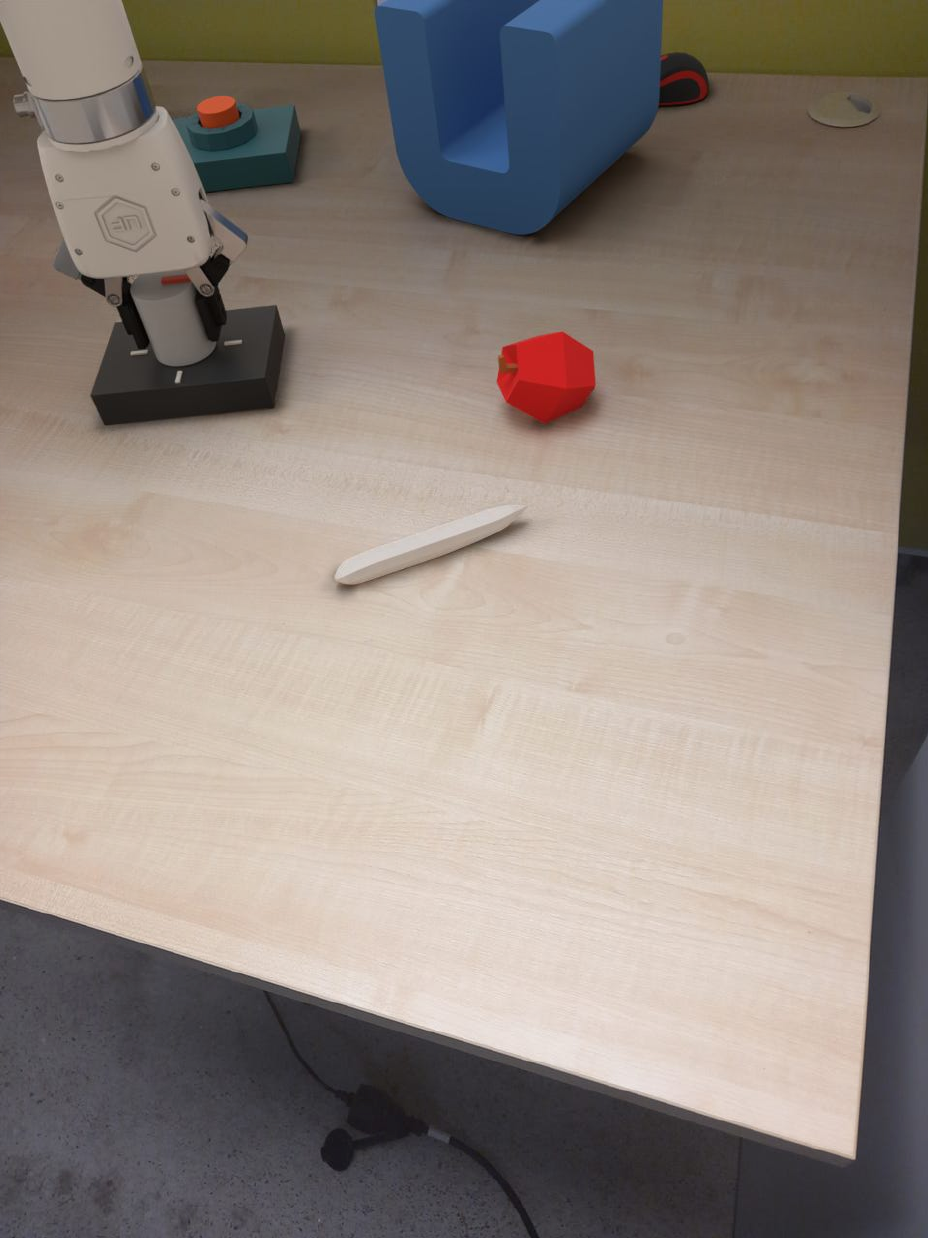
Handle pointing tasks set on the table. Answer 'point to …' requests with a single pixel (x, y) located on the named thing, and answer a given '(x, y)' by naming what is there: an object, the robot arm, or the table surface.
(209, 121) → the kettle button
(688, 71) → the computer mouse
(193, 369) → the dial panel
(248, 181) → the teal button box
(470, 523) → the pen
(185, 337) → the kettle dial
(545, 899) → the table surface
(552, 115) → the block
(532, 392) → the apple
